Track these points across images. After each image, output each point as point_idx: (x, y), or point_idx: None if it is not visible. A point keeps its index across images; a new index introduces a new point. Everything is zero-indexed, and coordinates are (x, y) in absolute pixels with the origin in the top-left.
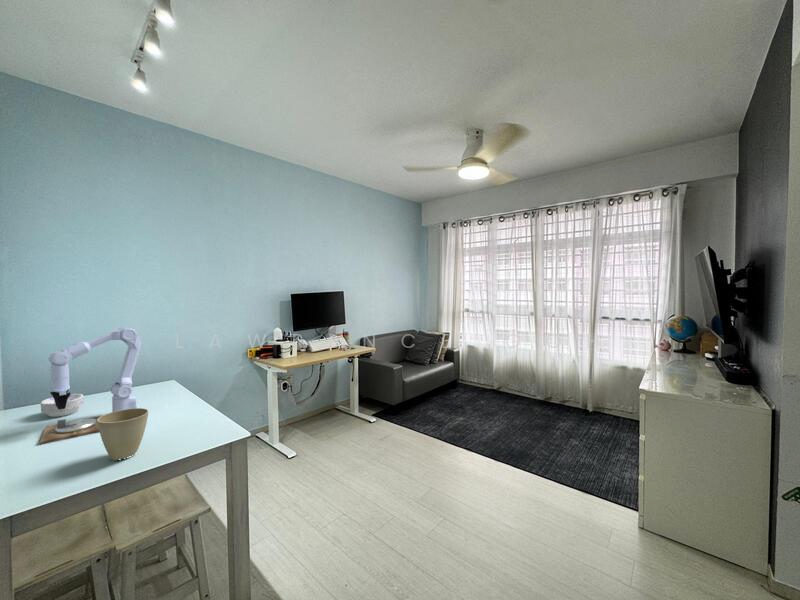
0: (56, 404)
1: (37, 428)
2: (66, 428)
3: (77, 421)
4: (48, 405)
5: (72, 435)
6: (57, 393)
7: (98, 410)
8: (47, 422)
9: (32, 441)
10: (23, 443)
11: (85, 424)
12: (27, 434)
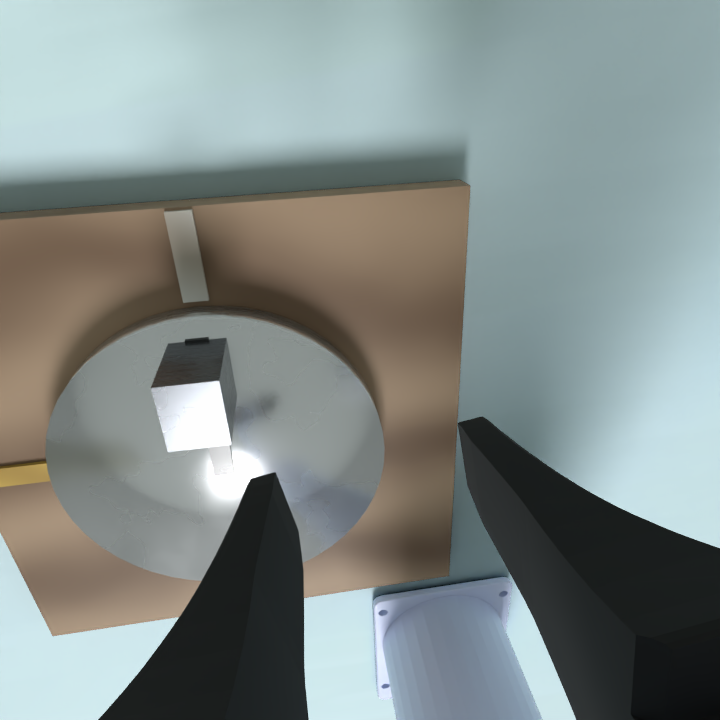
0: (477, 453)
1: (562, 81)
2: (120, 419)
3: (325, 461)
4: None
5: None
6: (614, 694)
7: (709, 482)
8: (717, 145)
9: (50, 119)
10: (16, 30)
11: (165, 535)
12: (388, 8)
